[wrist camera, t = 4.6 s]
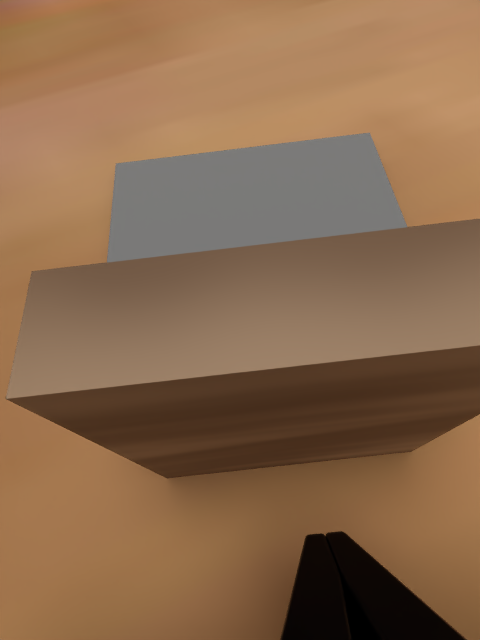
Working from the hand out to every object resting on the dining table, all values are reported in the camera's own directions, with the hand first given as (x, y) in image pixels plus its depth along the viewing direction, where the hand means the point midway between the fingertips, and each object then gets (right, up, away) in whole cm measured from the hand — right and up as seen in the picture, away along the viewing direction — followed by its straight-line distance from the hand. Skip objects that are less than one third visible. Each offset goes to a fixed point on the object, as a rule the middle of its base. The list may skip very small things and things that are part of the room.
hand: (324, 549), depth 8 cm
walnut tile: (0, 0, +8) cm, 8 cm away
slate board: (-1, +9, +13) cm, 16 cm away
